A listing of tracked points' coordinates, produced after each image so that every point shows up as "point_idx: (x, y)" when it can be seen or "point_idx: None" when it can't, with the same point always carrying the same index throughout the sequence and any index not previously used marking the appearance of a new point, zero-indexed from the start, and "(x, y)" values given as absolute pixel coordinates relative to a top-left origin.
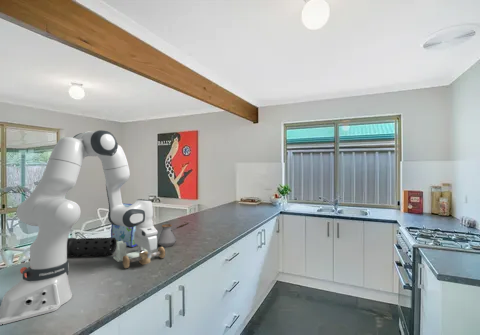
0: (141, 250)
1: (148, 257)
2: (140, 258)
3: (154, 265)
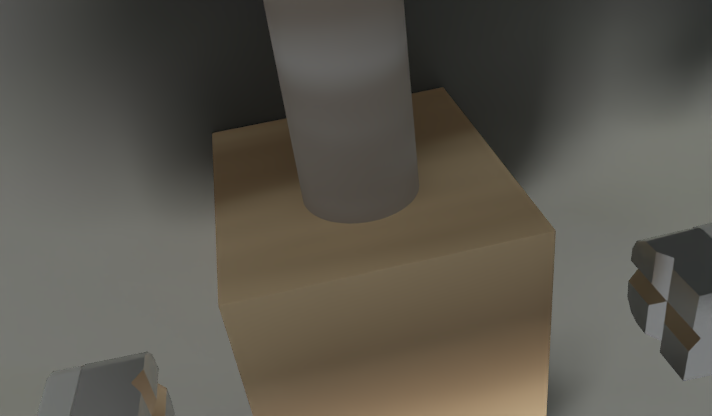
0: (695, 332)
1: (46, 394)
2: (297, 168)
3: (17, 339)
